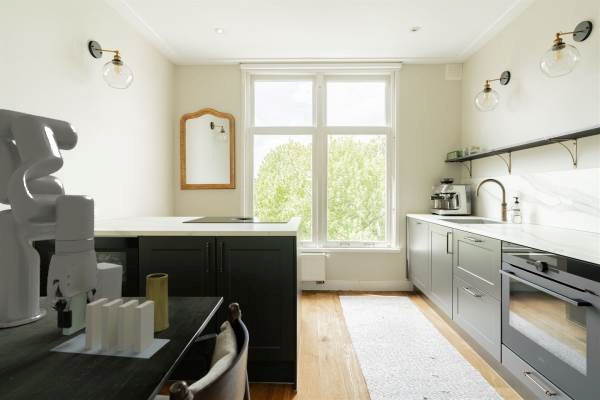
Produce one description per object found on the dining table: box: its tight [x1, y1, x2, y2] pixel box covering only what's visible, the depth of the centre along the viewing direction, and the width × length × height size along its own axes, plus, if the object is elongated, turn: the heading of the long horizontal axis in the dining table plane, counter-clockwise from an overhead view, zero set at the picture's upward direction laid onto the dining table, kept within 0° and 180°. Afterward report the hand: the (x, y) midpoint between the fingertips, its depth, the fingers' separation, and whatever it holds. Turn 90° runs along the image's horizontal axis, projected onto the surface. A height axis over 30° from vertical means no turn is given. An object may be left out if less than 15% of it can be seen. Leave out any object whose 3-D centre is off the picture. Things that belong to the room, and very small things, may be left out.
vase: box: [145, 272, 170, 333], centre depth 83 cm, size 6×6×14 cm
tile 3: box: [101, 298, 124, 350], centre depth 73 cm, size 2×5×10 cm, turn 173°
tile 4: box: [117, 299, 140, 351], centre depth 72 cm, size 2×5×10 cm, turn 173°
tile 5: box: [134, 300, 155, 353], centre depth 72 cm, size 2×5×10 cm, turn 173°
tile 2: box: [84, 298, 108, 349], centre depth 73 cm, size 2×5×10 cm, turn 173°
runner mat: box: [49, 333, 171, 359], centre depth 73 cm, size 24×9×1 cm, turn 83°
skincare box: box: [91, 262, 123, 303], centre depth 90 cm, size 8×7×16 cm
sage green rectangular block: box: [62, 292, 87, 336], centre depth 74 cm, size 2×5×10 cm, turn 173°
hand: (74, 322), depth 74 cm, fingers closed on sage green rectangular block, 4 cm apart
